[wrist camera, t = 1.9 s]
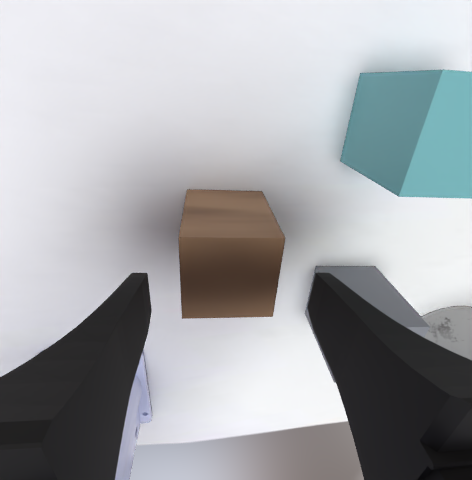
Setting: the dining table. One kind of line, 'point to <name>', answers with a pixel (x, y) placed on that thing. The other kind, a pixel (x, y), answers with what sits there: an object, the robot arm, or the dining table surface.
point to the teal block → (413, 132)
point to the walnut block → (228, 255)
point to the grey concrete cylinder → (451, 329)
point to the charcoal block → (374, 296)
